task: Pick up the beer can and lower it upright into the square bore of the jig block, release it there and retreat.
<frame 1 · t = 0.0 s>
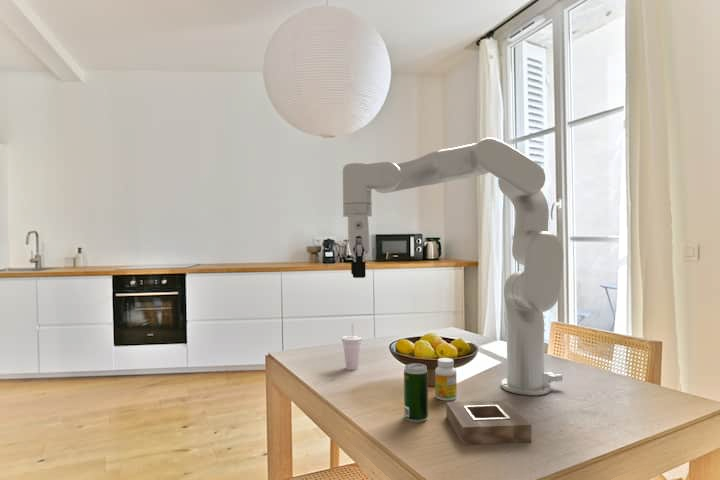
hand: (358, 275, 126), 31 cm above the table, tool pointing down, fingers open, 9 cm apart
beer can: (416, 419, 109), on the table
supplement bottle: (445, 398, 123), on the table
smoothie: (352, 369, 149), on the table
jig bore mouth: (486, 412, 103), on the jig, point 3 cm above the table
jig: (486, 428, 103), on the table
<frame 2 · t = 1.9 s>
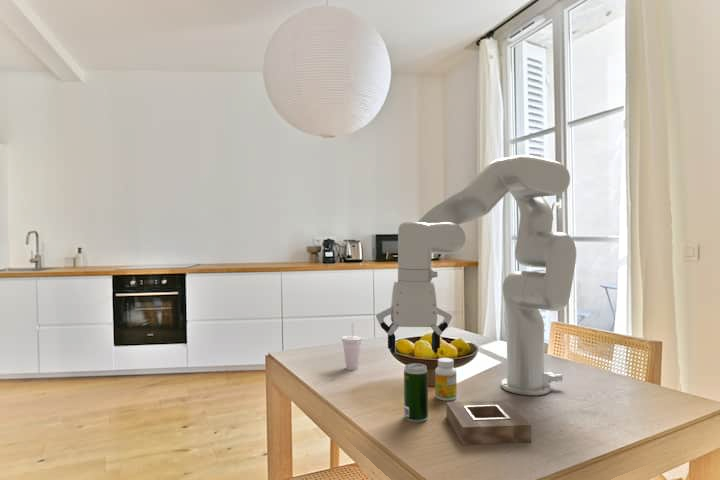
hand: (413, 351, 108), 15 cm above the table, tool pointing down, fingers open, 9 cm apart
nothing on the table moved.
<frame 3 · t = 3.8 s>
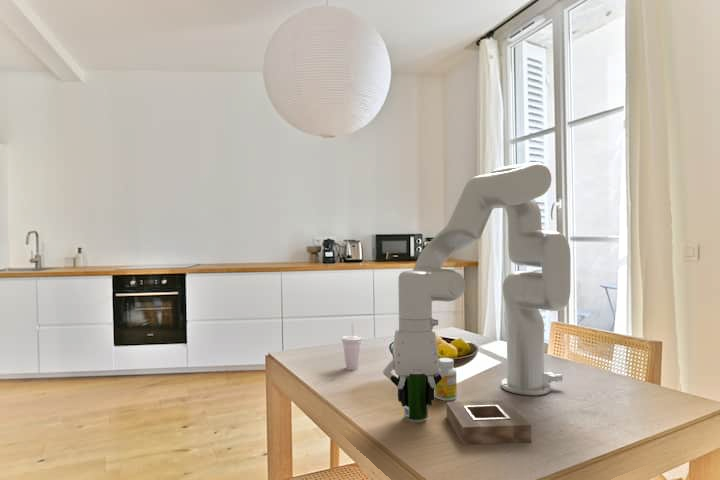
hand: (416, 403, 109), 3 cm above the table, tool pointing down, fingers closed on beer can, 5 cm apart
beer can: (416, 419, 109), on the table, touching gripper
everything else where it was.
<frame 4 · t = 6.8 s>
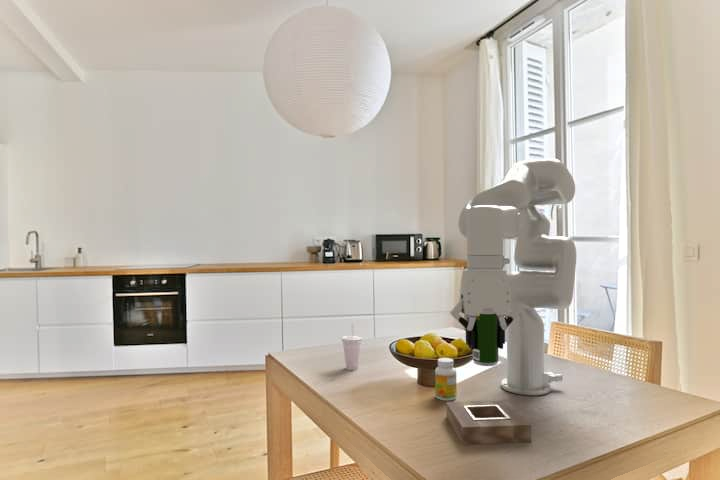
hand: (485, 346, 102), 18 cm above the table, tool pointing down, fingers closed on beer can, 5 cm apart
beer can: (485, 363, 102), point 14 cm above the table, touching gripper
everything else where it was.
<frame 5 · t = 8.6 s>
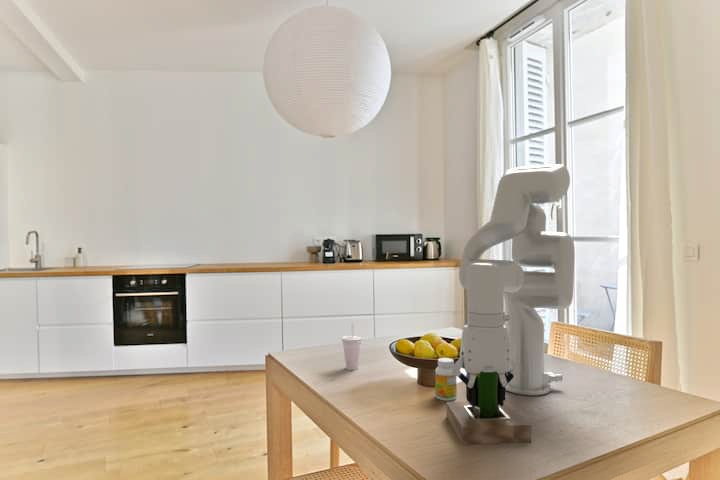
hand: (485, 403, 103), 6 cm above the table, tool pointing down, fingers closed on beer can, 5 cm apart
beer can: (485, 420, 103), point 2 cm above the table, touching gripper
everything else where it was.
when the fingers open (4 cm above the table, at t = 10.0 s): beer can stays where it is, resting in jig.
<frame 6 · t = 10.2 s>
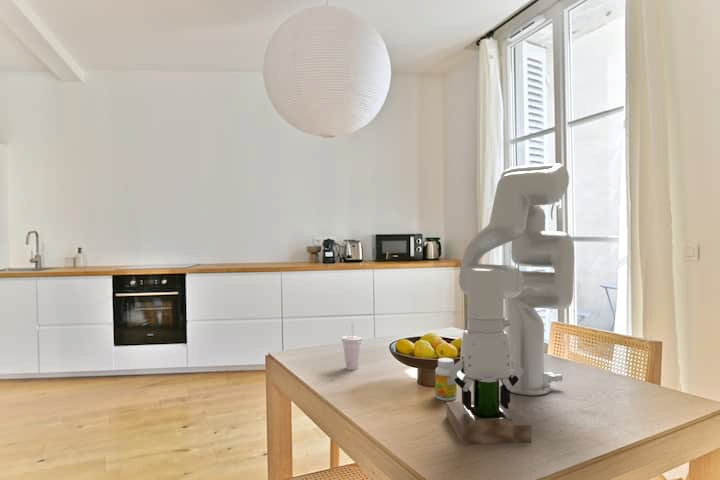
hand: (486, 406, 103), 5 cm above the table, tool pointing down, fingers open, 7 cm apart
beer can: (486, 429, 103), resting in jig
everything else where it was.
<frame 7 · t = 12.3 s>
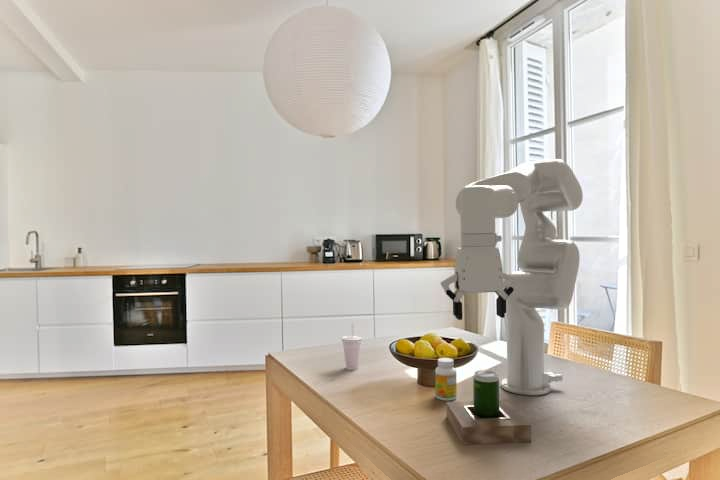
hand: (479, 317, 107), 23 cm above the table, tool pointing down, fingers open, 9 cm apart
nothing on the table moved.
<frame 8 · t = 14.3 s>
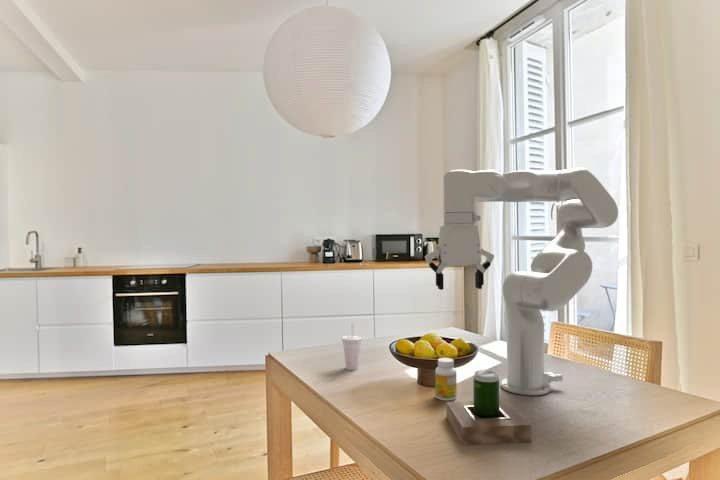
hand: (459, 288, 119), 28 cm above the table, tool pointing down, fingers open, 9 cm apart
nothing on the table moved.
at the end: beer can 0.1 cm off-centre on the jig, point 0.0 cm above the jig's base; beer can tilted 0°; the gripper is holding nothing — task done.
